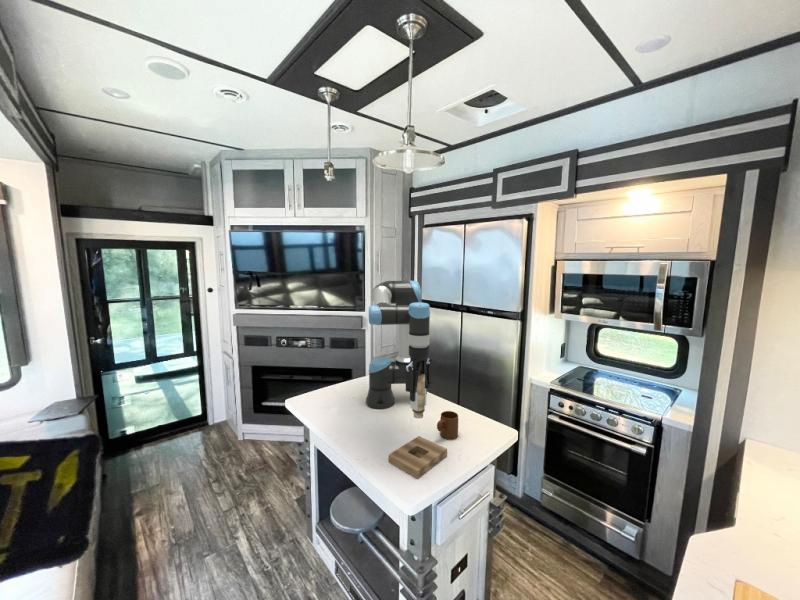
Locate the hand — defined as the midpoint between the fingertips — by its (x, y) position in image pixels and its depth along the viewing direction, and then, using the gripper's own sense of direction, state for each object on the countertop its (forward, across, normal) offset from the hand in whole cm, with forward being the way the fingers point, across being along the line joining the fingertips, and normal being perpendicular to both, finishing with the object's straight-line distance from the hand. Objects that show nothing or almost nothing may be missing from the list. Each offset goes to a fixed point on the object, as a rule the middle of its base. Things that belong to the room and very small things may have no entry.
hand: (418, 406), depth 122 cm
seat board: (+21, 0, 0) cm, 21 cm away
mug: (+21, -20, -1) cm, 29 cm away
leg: (+4, 0, 0) cm, 4 cm away
